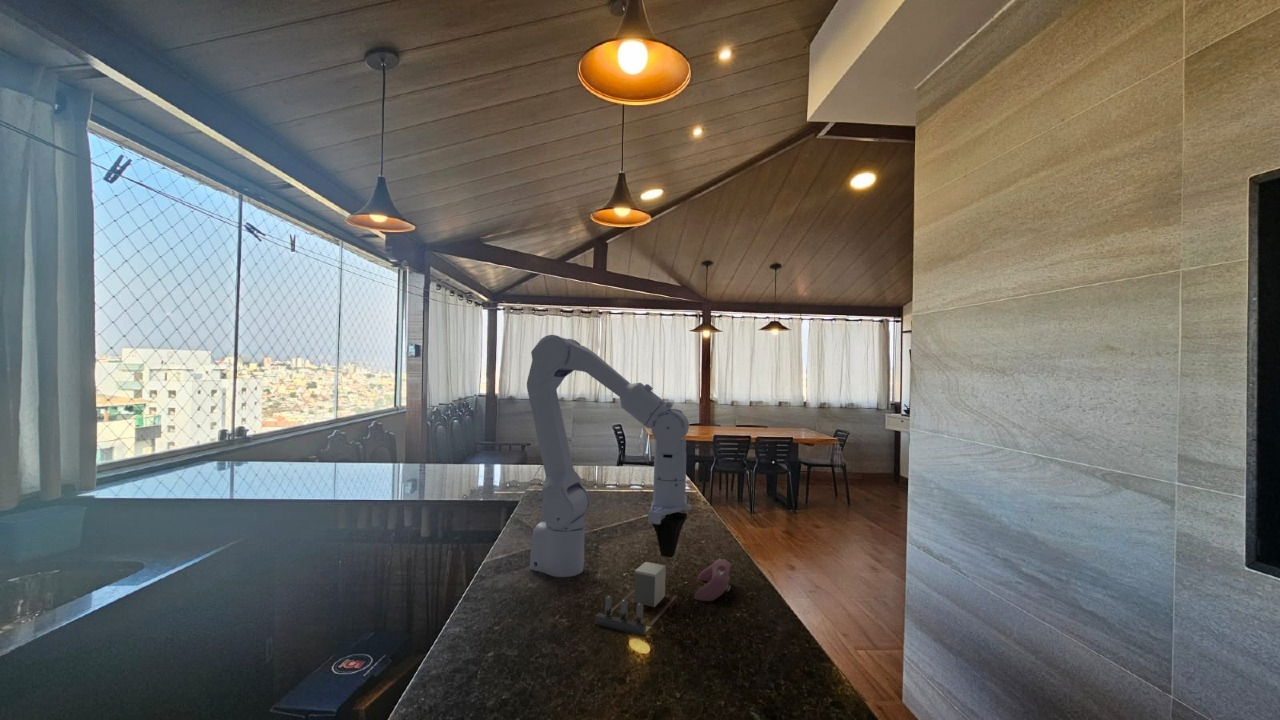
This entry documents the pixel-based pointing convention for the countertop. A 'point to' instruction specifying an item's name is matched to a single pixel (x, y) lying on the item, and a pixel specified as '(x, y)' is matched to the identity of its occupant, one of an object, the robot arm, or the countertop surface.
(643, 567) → the plug block
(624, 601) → the header
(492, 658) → the countertop surface
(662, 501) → the robot arm
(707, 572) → the video game controller
